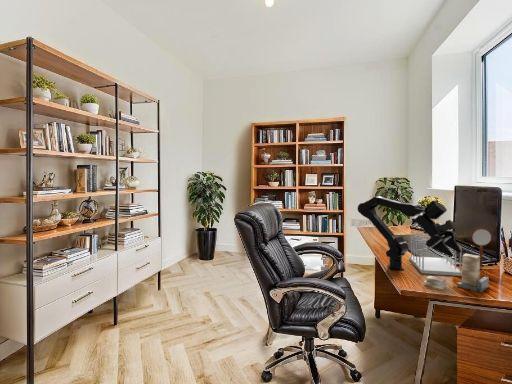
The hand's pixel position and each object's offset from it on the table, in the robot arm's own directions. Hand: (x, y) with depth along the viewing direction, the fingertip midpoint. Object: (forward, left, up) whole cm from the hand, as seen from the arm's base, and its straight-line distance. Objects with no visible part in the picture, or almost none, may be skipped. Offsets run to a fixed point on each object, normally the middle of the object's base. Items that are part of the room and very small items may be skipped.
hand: (456, 254), depth 129 cm
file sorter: (-22, -1, -13) cm, 26 cm away
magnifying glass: (-21, +20, -13) cm, 32 cm away
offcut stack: (+5, -10, -13) cm, 17 cm away
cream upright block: (+4, +4, -13) cm, 14 cm away
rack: (+4, +4, -13) cm, 14 cm away
